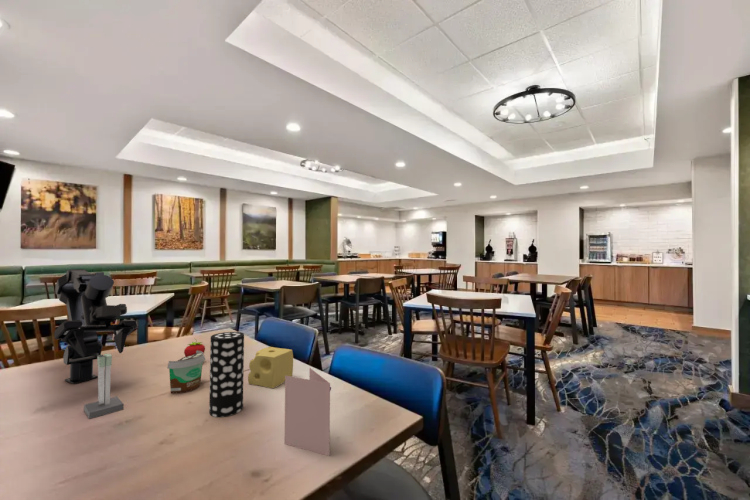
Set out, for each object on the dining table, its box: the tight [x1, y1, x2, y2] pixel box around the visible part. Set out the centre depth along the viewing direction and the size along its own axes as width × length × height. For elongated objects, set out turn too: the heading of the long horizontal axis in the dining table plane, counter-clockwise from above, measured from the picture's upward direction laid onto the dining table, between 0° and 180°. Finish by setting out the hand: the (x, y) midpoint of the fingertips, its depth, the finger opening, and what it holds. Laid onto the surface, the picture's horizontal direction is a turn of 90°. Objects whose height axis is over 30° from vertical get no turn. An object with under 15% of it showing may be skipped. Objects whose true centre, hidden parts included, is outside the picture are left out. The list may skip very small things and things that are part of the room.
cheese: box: [247, 346, 294, 389], centre depth 109 cm, size 10×11×10 cm
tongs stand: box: [83, 353, 124, 420], centre depth 88 cm, size 7×7×14 cm
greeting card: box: [283, 367, 332, 457], centre depth 72 cm, size 11×7×15 cm, turn 33°
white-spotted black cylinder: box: [208, 331, 245, 418], centre depth 88 cm, size 8×8×20 cm
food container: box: [166, 351, 206, 395], centre depth 102 cm, size 12×6×10 cm, turn 168°
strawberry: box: [183, 339, 206, 357], centre depth 125 cm, size 6×8×10 cm
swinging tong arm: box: [96, 354, 105, 405], centre depth 87 cm, size 3×1×12 cm, turn 50°
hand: (103, 354), depth 95 cm, fingers open, 9 cm apart
